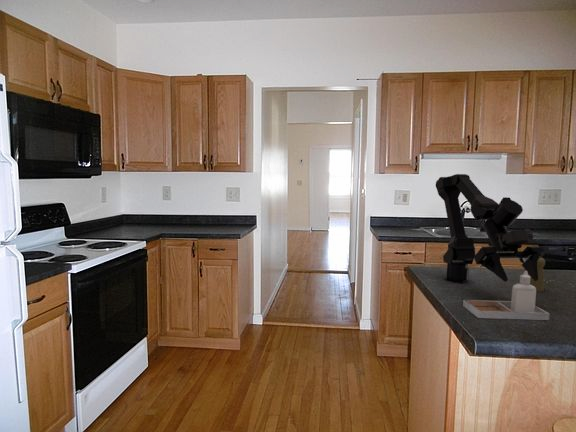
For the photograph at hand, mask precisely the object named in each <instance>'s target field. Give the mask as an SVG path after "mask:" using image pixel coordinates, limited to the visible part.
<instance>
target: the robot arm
mask: <svg viewBox="0 0 576 432" xmlns="http://www.w3.org/2000/svg"><path fill="white" fill-rule="evenodd" d="M435 188H436V191H437V195H438V196H439V197H440V198H441V199H442V200H443V202H444V206H445V212H446V218H447V222H448V228H449V233H450V239H449V240H448V243H447V250H446V252H445V253H444V254H443V255H442V261H443V263H445V264H446V265H447V266H446V276H445V278H444V280H446V281H452V282H456V283H461V284H463V283H464V284H465V283H466V282H467V281H468V280H469V277H470V268H469V265H473V263H474V261H475V264H476V265H480V266H481V267H484V268H486V269H487V270H488V271H490V272H491V273H492V274H494V275H496V276H497V277H498V278H499V279H501V280H502V281H503V282H506V283H507V282H508V280H509V279H508V275H507V273H506V271H505V269H504V267H503V265H502V263H501V259H519V262H520V263H522V264H521V267H523V268H524V271H527V272H528V274H529V275H530V276H531V278H532V279H533V280H534V281H537V280H538V270H537V261H538V259H540V258H543V256H544V255H545V254H546V253H545V251H544V249H543V247H542V246H537V245H535V246H529V245H528V246H526V247H525V248H524V249H523V250H522V251H521V250H519V249H522V247H523V245H522V244H525V243H530V241H532V240H533V239H534V234H533V232H532V231H531V229H530V228H524V229H517V230H516V229H514V230H511V231H509V230H508V227H509V226H511V225H512V224H513V223H514V222H515V221H516V220H517V219H518V217H519V216H520V215H521V214H522V213H523V210H524V209H523V206H522V205H521V204H519V203H518V202H517V201H515V200H512V199H511V198H510V197H505V196H504V197H502V199H501V200H500V202H499V203H498V202H497V201H495V200H494V199H493V198H490V197H488V196H486V195H484V193H483V192H481V190H480V189H479V188H478V186H477V185H476V184H475V183H474V182H473V181H472V179H471V177H470V175H469V174H465V173H464V174H463V173H461V174H460V173H456V174H453V175H449V176H440V177H439V178H438V179H437V180H436V182H435ZM461 194H462V195H463V196H464V198H465V199H466V201H467V202H468V203H469V204H470V209H469V211H470V212H471V214H472V216H473V218H474V219H475V220H477V221H484V222H483V223H481V226H480V227H479V232H480V233H486V235H487V238H488V239H489V242H487V244H488V246H481V247H480V248H479V249H478V250H477V252H476V247H475V243H474V239H473V238H472V237H468V235H467V234H466V229H465V225H464V221H463V219H464V218H463V216H462V215H463V214H462V210H461V204H460V199H459V197H460V195H461Z"/></svg>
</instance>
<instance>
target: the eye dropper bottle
mask: <svg viewBox="0 0 576 432" xmlns="http://www.w3.org/2000/svg"><path fill="white" fill-rule="evenodd" d="M530 278H531V277H530V276H529V275H528V273H527V271H526V270H524V271H523V274H520V275H519V283H515V284H514V285H512V287H511V288H512V289H511V300H510V301H511V308H510V310H512V311H513V312H534V311H535V306H536V297H537V291H536V288H535V287H534V286H533V285H530Z"/></svg>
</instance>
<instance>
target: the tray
mask: <svg viewBox="0 0 576 432" xmlns="http://www.w3.org/2000/svg"><path fill="white" fill-rule="evenodd" d="M462 306H463V307H464V308H465V309H466V310H467V311H468V312H470V313H471V314H472V315H474V316H475V317H476V318H477V319H496V320H497V319H498V320H527V321H528V320H529V321H530V320H531V321H532V320H533V321H534V320H535V321H550V315H551V314H550V313H549V312H548V311H546V310H544V309H542V308H540V307H538V306H537V305H535V311H534V312H513V311H512V310H511V300H486V299H483V300H481V299H480V300H479V299H463V302H462Z"/></svg>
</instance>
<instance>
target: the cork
mask: <svg viewBox="0 0 576 432" xmlns="http://www.w3.org/2000/svg"><path fill="white" fill-rule="evenodd" d="M545 265H546V259H544V258H543V257H541V258H540V259H538V261H537V270H538V280H537V281H534V280H533V279H532V278H530V285H533V286H534V287H535V288H536V292H544V291H545V283H544V282H545V281H544V267H545ZM527 273H528V272H527ZM528 275H529V274H528ZM529 276H530V275H529ZM530 277H531V276H530Z"/></svg>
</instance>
